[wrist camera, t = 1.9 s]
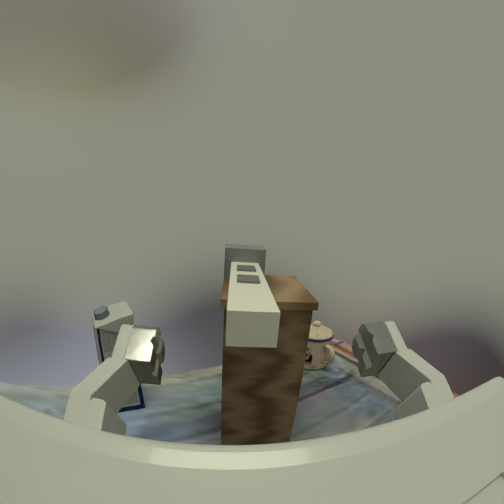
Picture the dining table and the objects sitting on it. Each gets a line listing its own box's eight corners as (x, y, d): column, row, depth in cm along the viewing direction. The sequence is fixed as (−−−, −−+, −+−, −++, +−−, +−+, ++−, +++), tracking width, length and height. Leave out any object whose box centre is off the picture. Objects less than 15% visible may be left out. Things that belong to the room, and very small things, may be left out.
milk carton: (145, 408, 42) (133, 312, 40) (112, 413, 38) (93, 316, 36) (135, 388, 48) (125, 299, 45) (105, 392, 44) (90, 301, 41)
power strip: (212, 345, 20) (214, 283, 20) (225, 273, 46) (226, 244, 45) (289, 347, 21) (296, 287, 20) (260, 275, 46) (262, 246, 46)
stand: (218, 446, 36) (220, 299, 32) (221, 394, 50) (225, 272, 47) (291, 445, 36) (318, 302, 33) (279, 396, 51) (294, 276, 48)
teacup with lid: (286, 358, 68) (291, 318, 66) (313, 351, 72) (319, 313, 71) (315, 380, 57) (323, 336, 56) (342, 370, 62) (351, 328, 60)
